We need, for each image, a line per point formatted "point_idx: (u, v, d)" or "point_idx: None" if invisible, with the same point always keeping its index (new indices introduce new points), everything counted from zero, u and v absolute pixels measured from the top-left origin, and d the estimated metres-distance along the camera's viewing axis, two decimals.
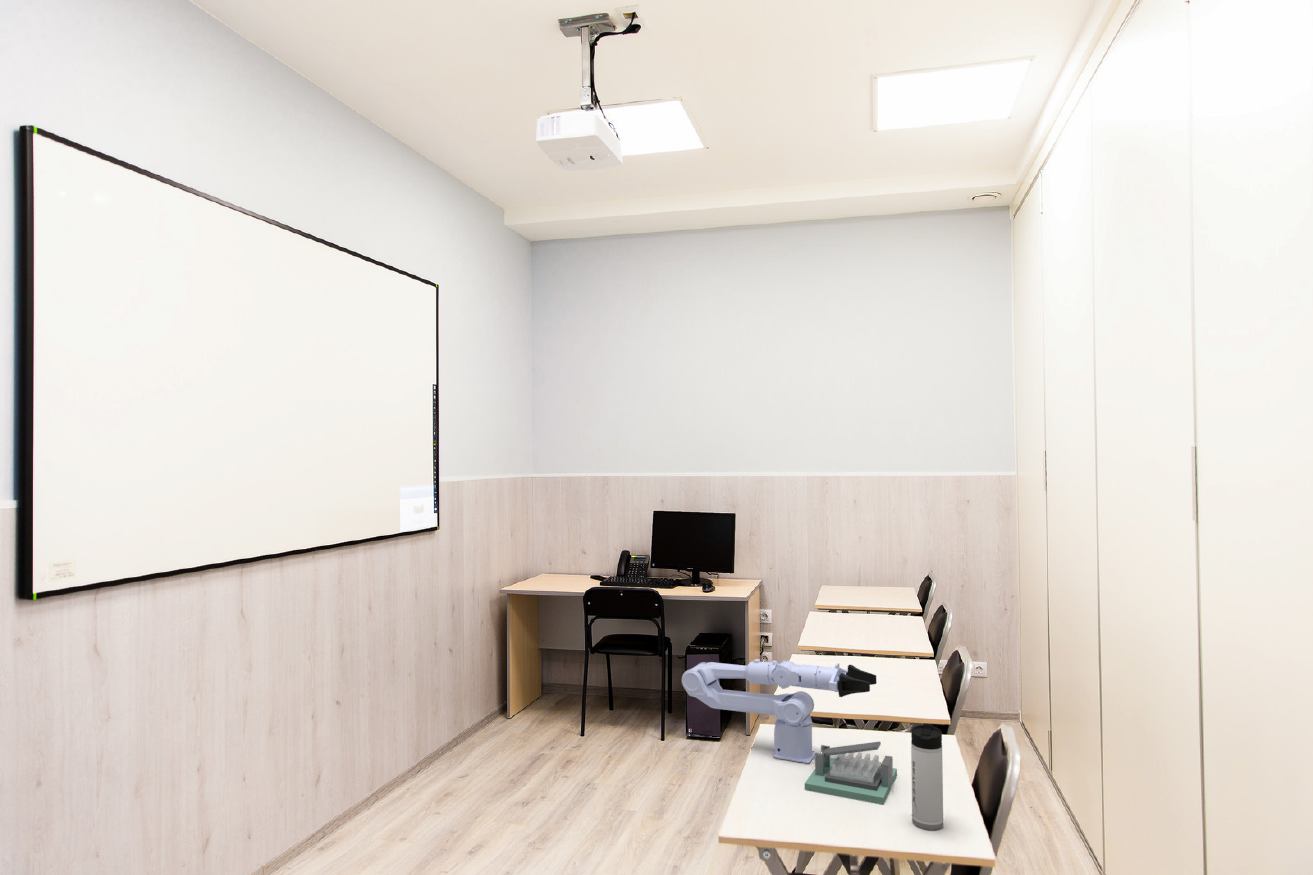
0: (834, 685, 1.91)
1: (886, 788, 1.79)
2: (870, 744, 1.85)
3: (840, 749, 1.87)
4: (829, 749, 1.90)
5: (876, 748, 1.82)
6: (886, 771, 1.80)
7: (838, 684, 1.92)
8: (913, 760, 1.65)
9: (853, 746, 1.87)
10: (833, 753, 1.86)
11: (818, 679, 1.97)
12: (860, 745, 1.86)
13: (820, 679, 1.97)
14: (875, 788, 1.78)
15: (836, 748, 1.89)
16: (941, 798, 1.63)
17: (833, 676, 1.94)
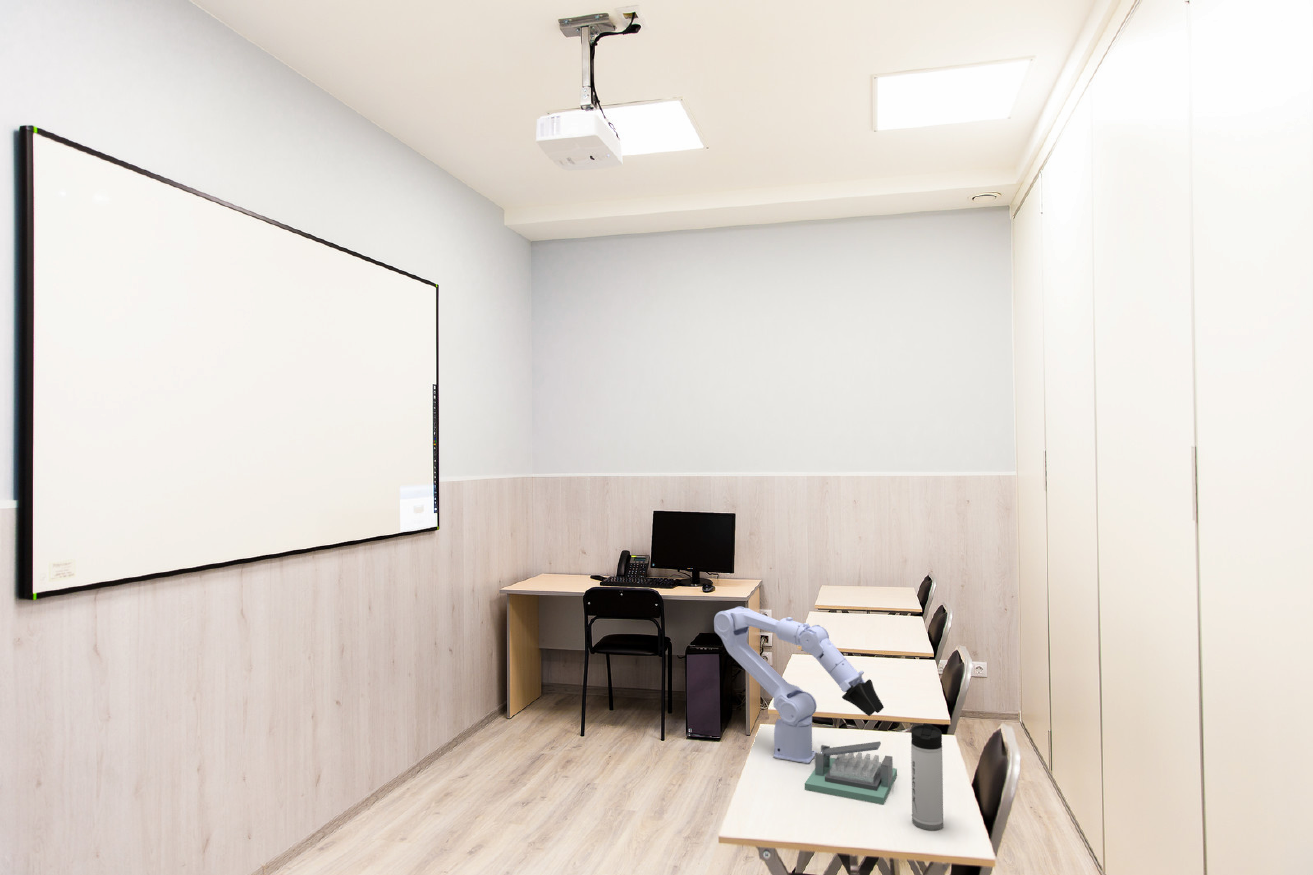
0: (846, 687, 1.86)
1: (886, 788, 1.79)
2: (870, 744, 1.85)
3: (840, 749, 1.87)
4: (829, 749, 1.90)
5: (876, 748, 1.82)
6: (886, 771, 1.80)
7: (850, 688, 1.87)
8: (913, 760, 1.65)
9: (853, 746, 1.87)
10: (833, 753, 1.86)
11: (837, 668, 1.93)
12: (860, 745, 1.86)
13: (838, 670, 1.92)
14: (875, 788, 1.78)
15: (836, 748, 1.89)
16: (941, 798, 1.63)
17: (851, 679, 1.89)
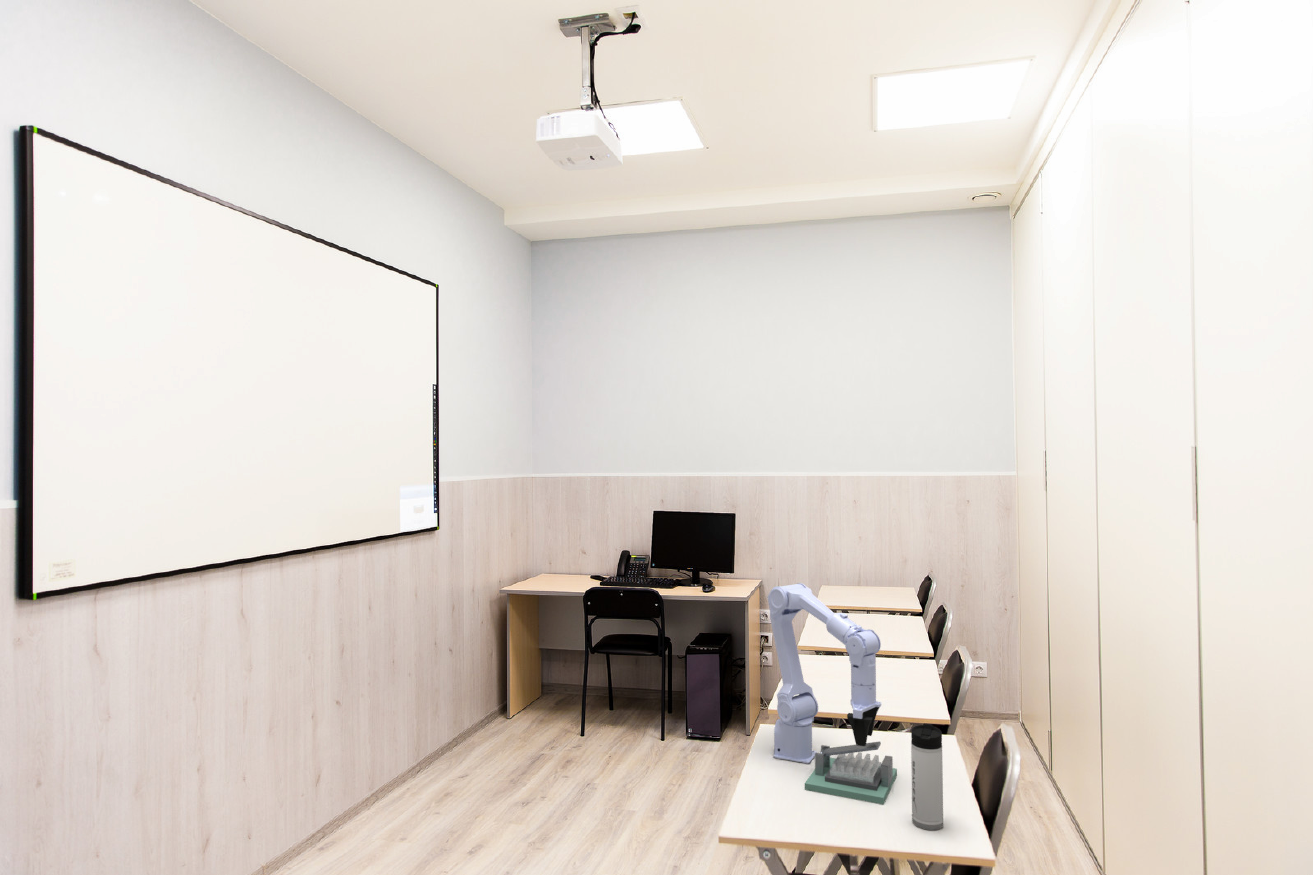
0: (859, 716, 1.79)
1: (886, 788, 1.79)
2: (870, 744, 1.85)
3: (840, 749, 1.87)
4: (829, 749, 1.90)
5: (876, 748, 1.82)
6: (886, 771, 1.80)
7: None
8: (913, 760, 1.65)
9: (853, 746, 1.87)
10: (833, 753, 1.86)
11: (862, 688, 1.83)
12: None
13: (862, 690, 1.83)
14: (875, 788, 1.78)
15: (836, 748, 1.89)
16: (941, 798, 1.63)
17: (867, 709, 1.81)
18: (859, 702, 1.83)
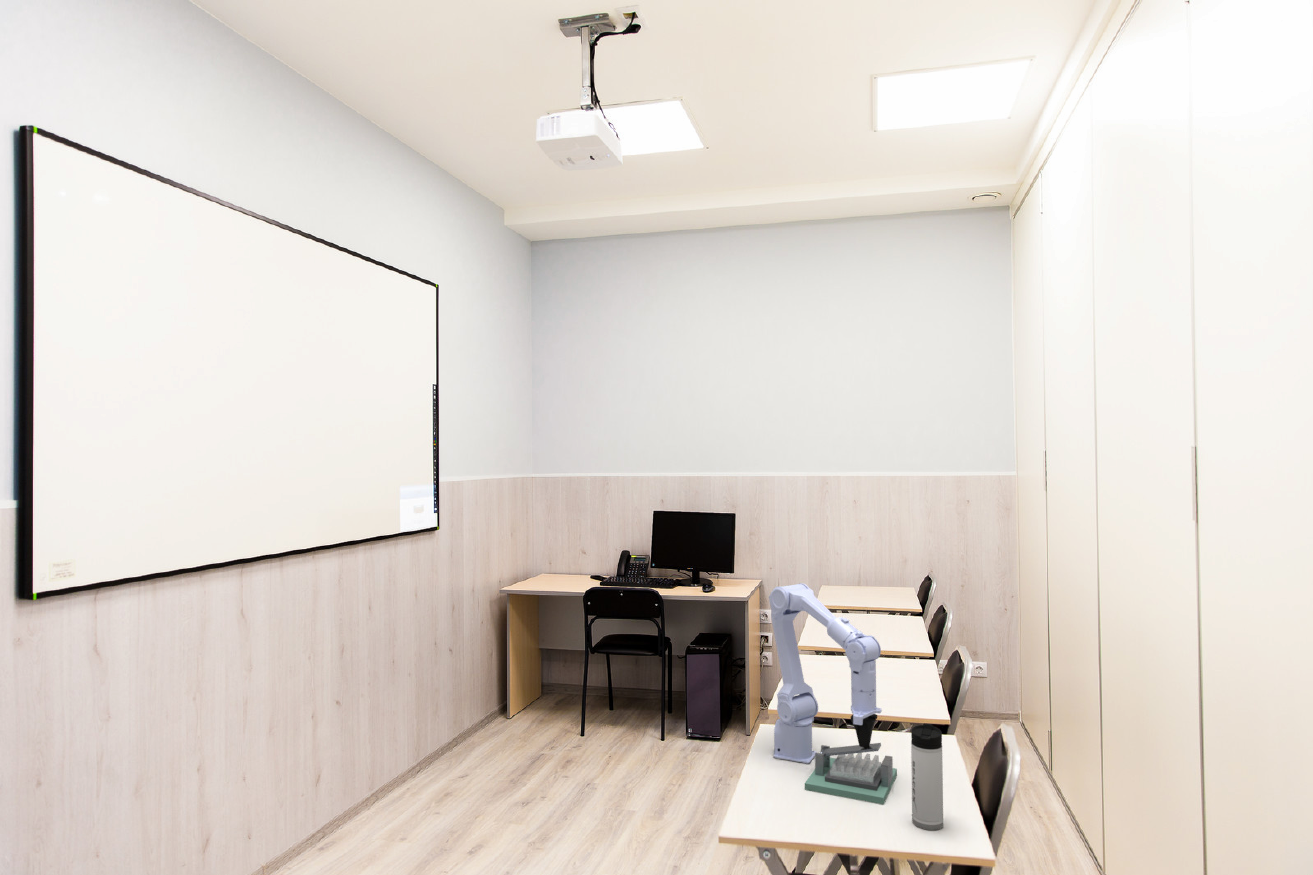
0: (859, 723, 1.79)
1: (886, 788, 1.79)
2: (870, 745, 1.85)
3: (840, 749, 1.87)
4: (829, 749, 1.90)
5: (876, 749, 1.82)
6: (886, 771, 1.80)
7: (863, 720, 1.83)
8: (913, 760, 1.65)
9: (853, 747, 1.87)
10: (833, 753, 1.86)
11: (862, 694, 1.83)
12: None
13: (862, 696, 1.83)
14: (875, 788, 1.78)
15: (837, 748, 1.89)
16: (941, 798, 1.63)
17: (868, 715, 1.81)
18: (859, 708, 1.83)
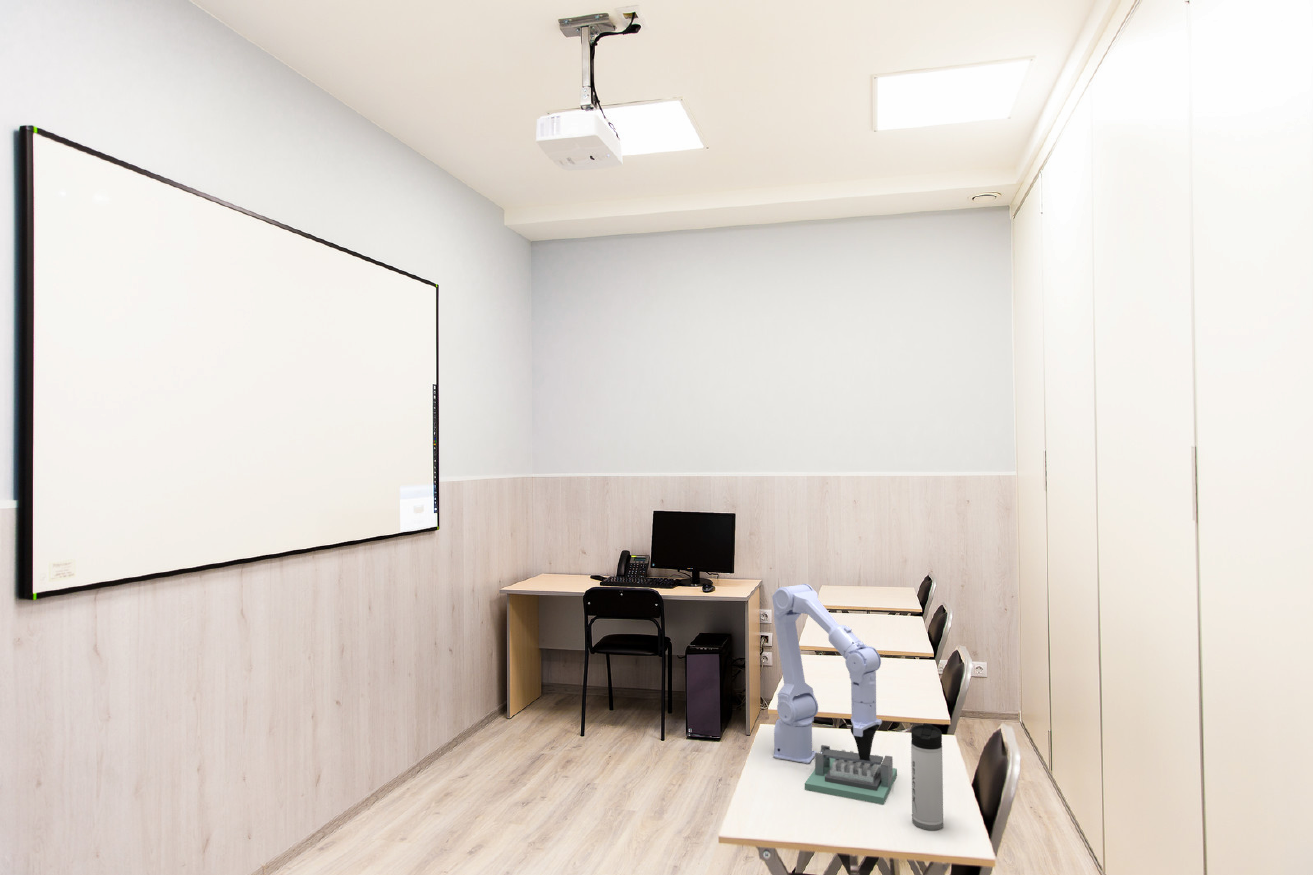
0: (859, 734, 1.79)
1: (886, 788, 1.79)
2: (872, 756, 1.85)
3: (841, 754, 1.87)
4: (830, 751, 1.90)
5: (878, 763, 1.82)
6: (886, 771, 1.80)
7: (863, 731, 1.83)
8: (913, 760, 1.65)
9: (855, 754, 1.87)
10: (834, 757, 1.86)
11: (862, 705, 1.83)
12: None
13: (862, 708, 1.83)
14: (875, 788, 1.78)
15: (837, 751, 1.89)
16: (941, 798, 1.63)
17: (868, 726, 1.81)
18: (859, 719, 1.83)
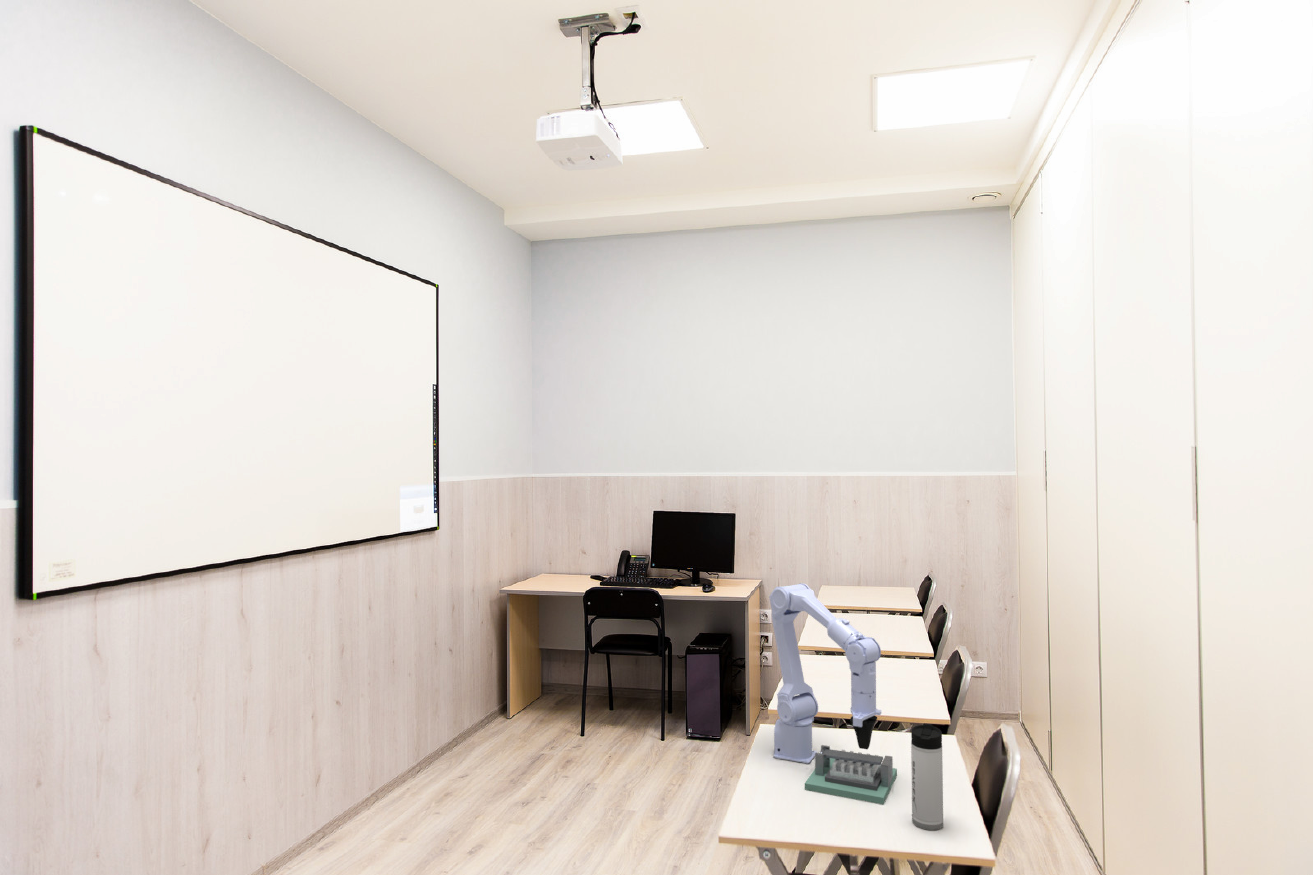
0: (859, 724, 1.79)
1: (886, 788, 1.79)
2: (872, 757, 1.85)
3: (841, 754, 1.87)
4: (830, 751, 1.90)
5: (878, 763, 1.82)
6: (886, 771, 1.80)
7: (863, 721, 1.83)
8: (913, 760, 1.65)
9: (855, 754, 1.87)
10: (834, 757, 1.86)
11: (862, 696, 1.83)
12: (862, 755, 1.86)
13: (862, 698, 1.83)
14: (875, 788, 1.78)
15: (837, 751, 1.89)
16: (941, 798, 1.63)
17: (867, 717, 1.81)
18: (859, 710, 1.83)
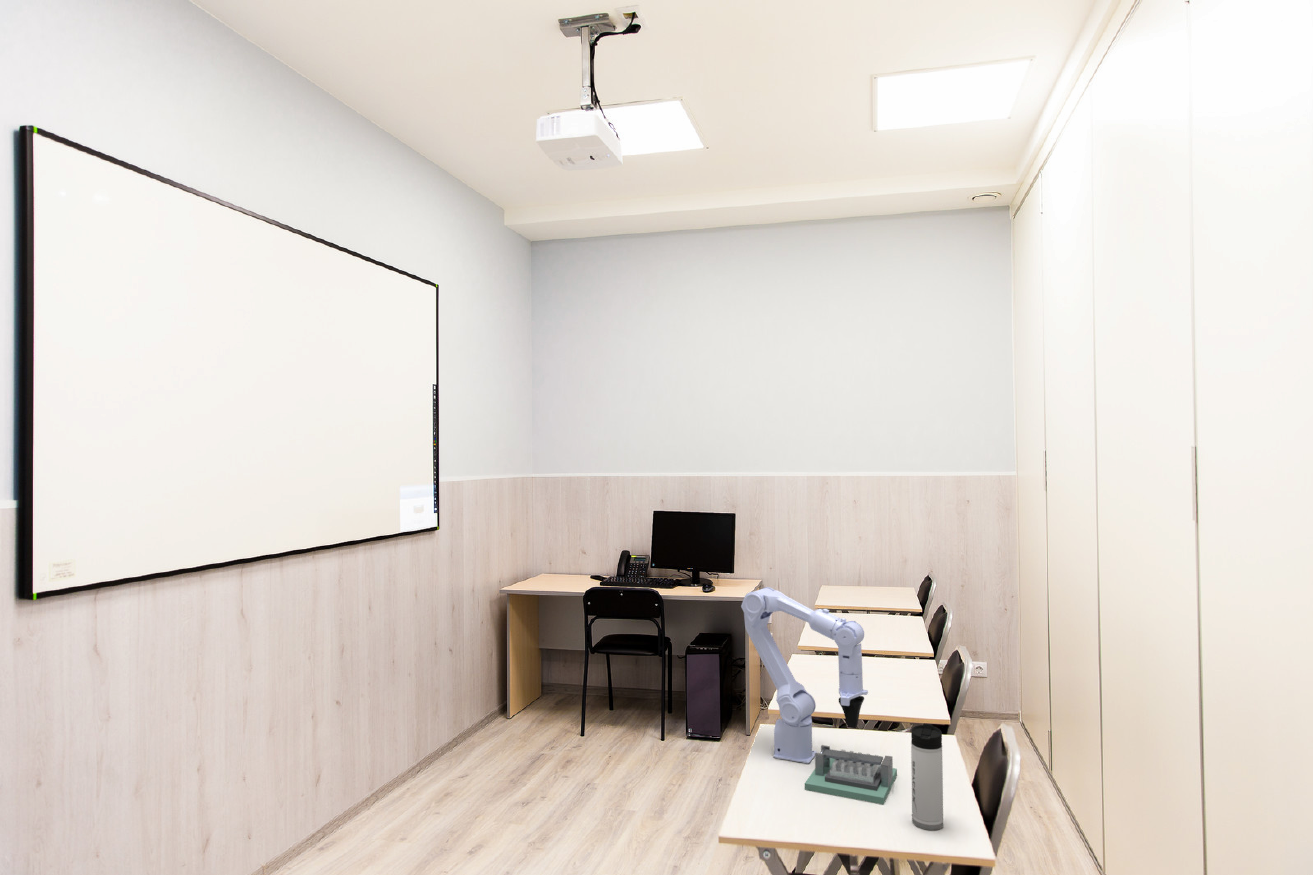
0: (846, 703, 1.88)
1: (886, 788, 1.79)
2: (872, 757, 1.85)
3: (841, 754, 1.87)
4: (830, 751, 1.90)
5: (878, 763, 1.82)
6: (886, 771, 1.80)
7: (850, 701, 1.92)
8: (913, 760, 1.65)
9: (855, 754, 1.87)
10: (834, 757, 1.86)
11: (849, 677, 1.92)
12: (862, 755, 1.86)
13: (849, 679, 1.92)
14: (875, 788, 1.78)
15: (837, 751, 1.89)
16: (941, 798, 1.63)
17: (854, 696, 1.90)
18: (846, 690, 1.92)
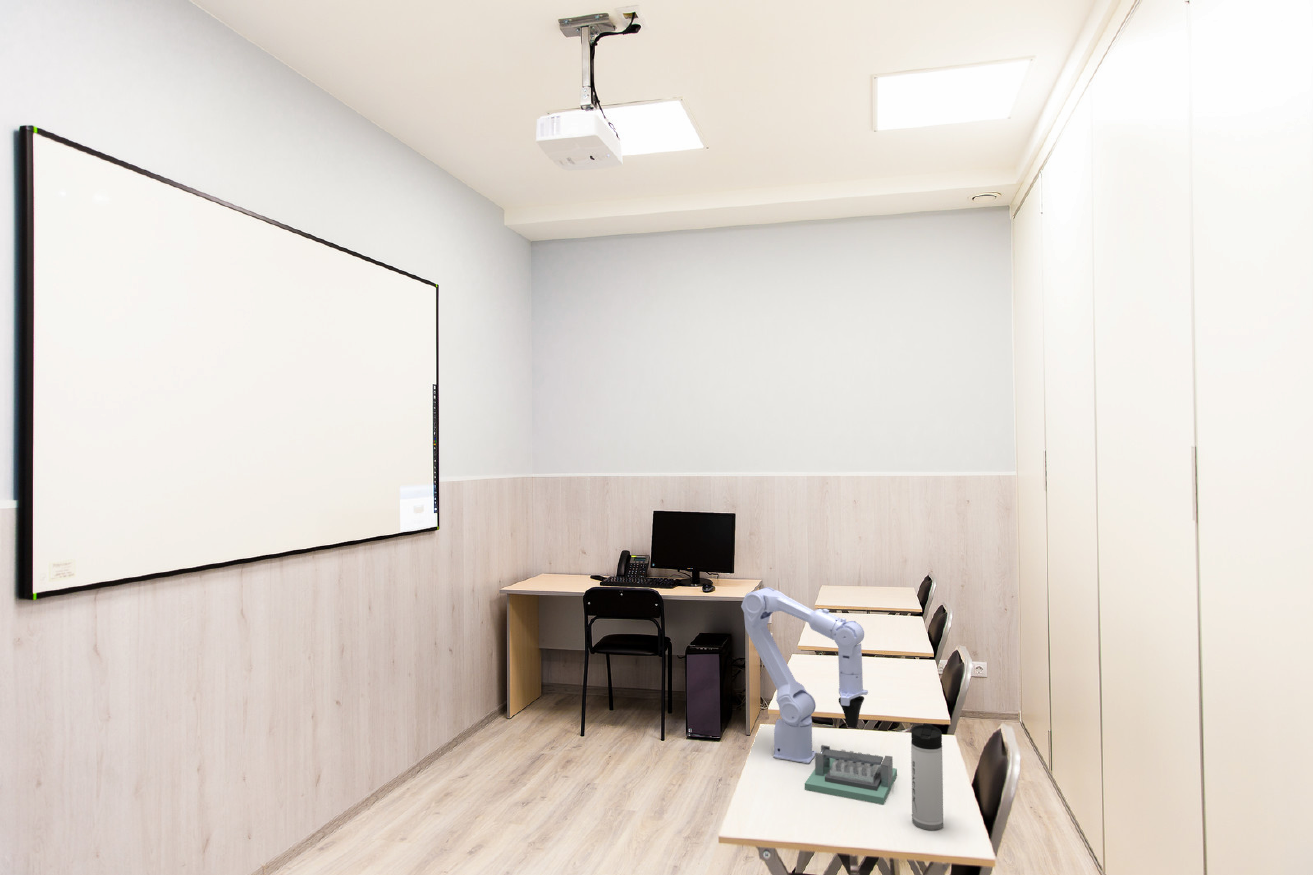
0: (846, 703, 1.88)
1: (886, 788, 1.79)
2: (872, 757, 1.85)
3: (841, 754, 1.87)
4: (830, 751, 1.90)
5: (878, 763, 1.82)
6: (886, 771, 1.80)
7: (850, 701, 1.92)
8: (913, 760, 1.65)
9: (855, 754, 1.87)
10: (834, 757, 1.86)
11: (849, 677, 1.92)
12: (862, 755, 1.86)
13: (849, 679, 1.92)
14: (875, 788, 1.78)
15: (837, 751, 1.89)
16: (941, 798, 1.63)
17: (854, 696, 1.90)
18: (846, 690, 1.92)
